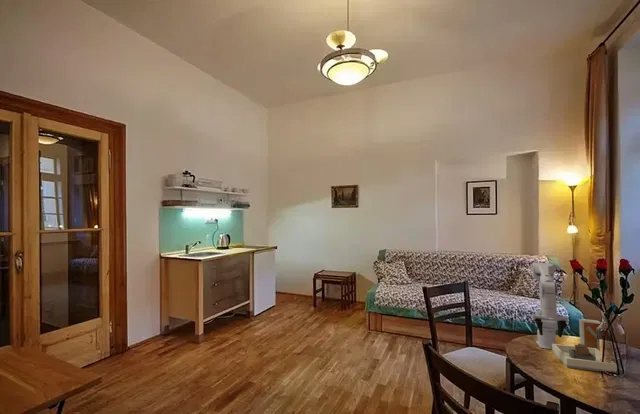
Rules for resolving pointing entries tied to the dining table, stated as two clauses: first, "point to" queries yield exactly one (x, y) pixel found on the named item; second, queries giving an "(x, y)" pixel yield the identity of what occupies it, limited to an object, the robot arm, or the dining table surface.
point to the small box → (588, 332)
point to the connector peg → (581, 350)
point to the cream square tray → (582, 359)
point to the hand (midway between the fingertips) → (550, 335)
